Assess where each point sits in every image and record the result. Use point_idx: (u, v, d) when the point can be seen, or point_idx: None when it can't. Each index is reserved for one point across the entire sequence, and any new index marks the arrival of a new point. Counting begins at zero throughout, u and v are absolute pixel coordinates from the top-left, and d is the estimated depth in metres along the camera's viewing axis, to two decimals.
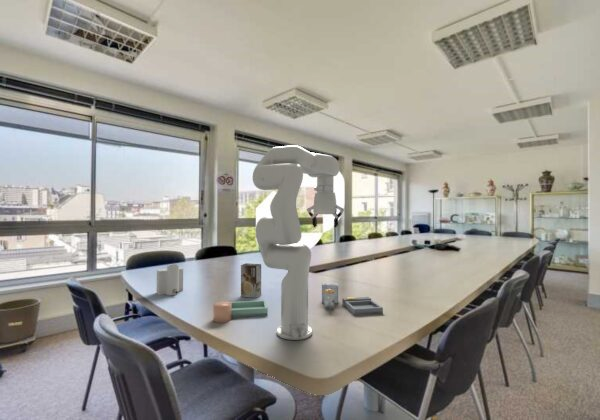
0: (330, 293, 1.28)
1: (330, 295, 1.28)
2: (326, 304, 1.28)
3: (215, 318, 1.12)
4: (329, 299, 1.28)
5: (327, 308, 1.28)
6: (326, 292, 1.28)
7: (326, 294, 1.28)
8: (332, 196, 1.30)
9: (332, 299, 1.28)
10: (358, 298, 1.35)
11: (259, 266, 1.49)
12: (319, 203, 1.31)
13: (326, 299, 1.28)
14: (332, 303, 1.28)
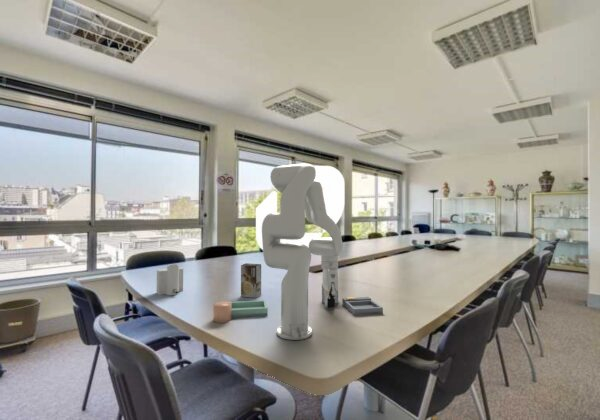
0: (330, 293, 1.28)
1: None
2: (326, 304, 1.28)
3: (215, 318, 1.12)
4: None
5: (327, 308, 1.28)
6: (326, 292, 1.28)
7: (326, 294, 1.28)
8: None
9: None
10: (358, 298, 1.35)
11: (259, 266, 1.49)
12: None
13: (326, 299, 1.28)
14: None
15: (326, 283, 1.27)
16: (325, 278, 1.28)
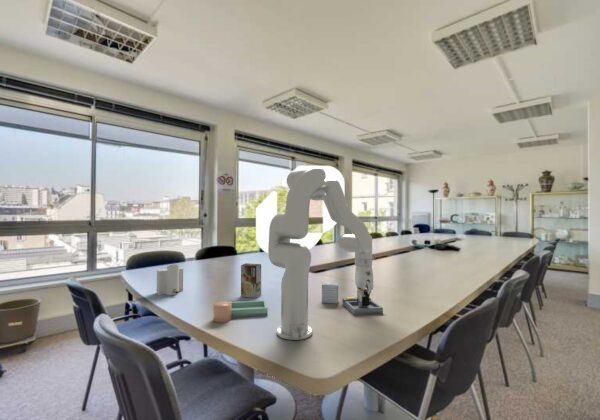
0: None
1: None
2: (360, 303, 1.26)
3: (215, 318, 1.12)
4: None
5: None
6: (360, 291, 1.26)
7: (360, 293, 1.26)
8: None
9: None
10: None
11: (259, 266, 1.49)
12: None
13: (360, 298, 1.26)
14: None
15: (361, 281, 1.24)
16: (359, 276, 1.26)
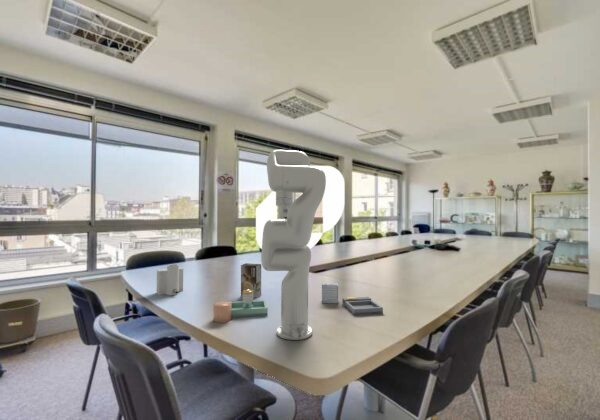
0: (247, 294, 1.22)
1: (248, 296, 1.22)
2: (243, 305, 1.22)
3: (215, 318, 1.12)
4: (246, 300, 1.22)
5: None
6: (243, 293, 1.23)
7: (243, 295, 1.23)
8: None
9: (249, 300, 1.22)
10: (358, 298, 1.35)
11: (259, 266, 1.49)
12: None
13: (243, 300, 1.22)
14: (249, 304, 1.22)
15: (279, 219, 1.29)
16: (279, 214, 1.30)
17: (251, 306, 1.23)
